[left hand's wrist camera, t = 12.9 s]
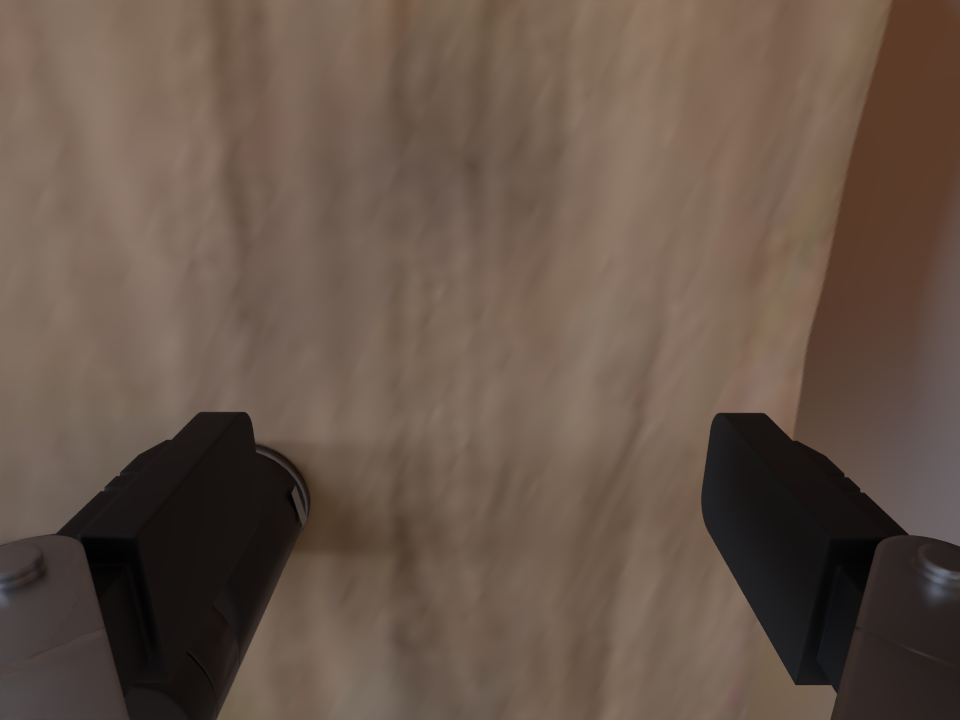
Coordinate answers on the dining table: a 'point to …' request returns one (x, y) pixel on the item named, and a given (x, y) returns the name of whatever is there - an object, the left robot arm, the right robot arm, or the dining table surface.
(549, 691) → the dining table surface
